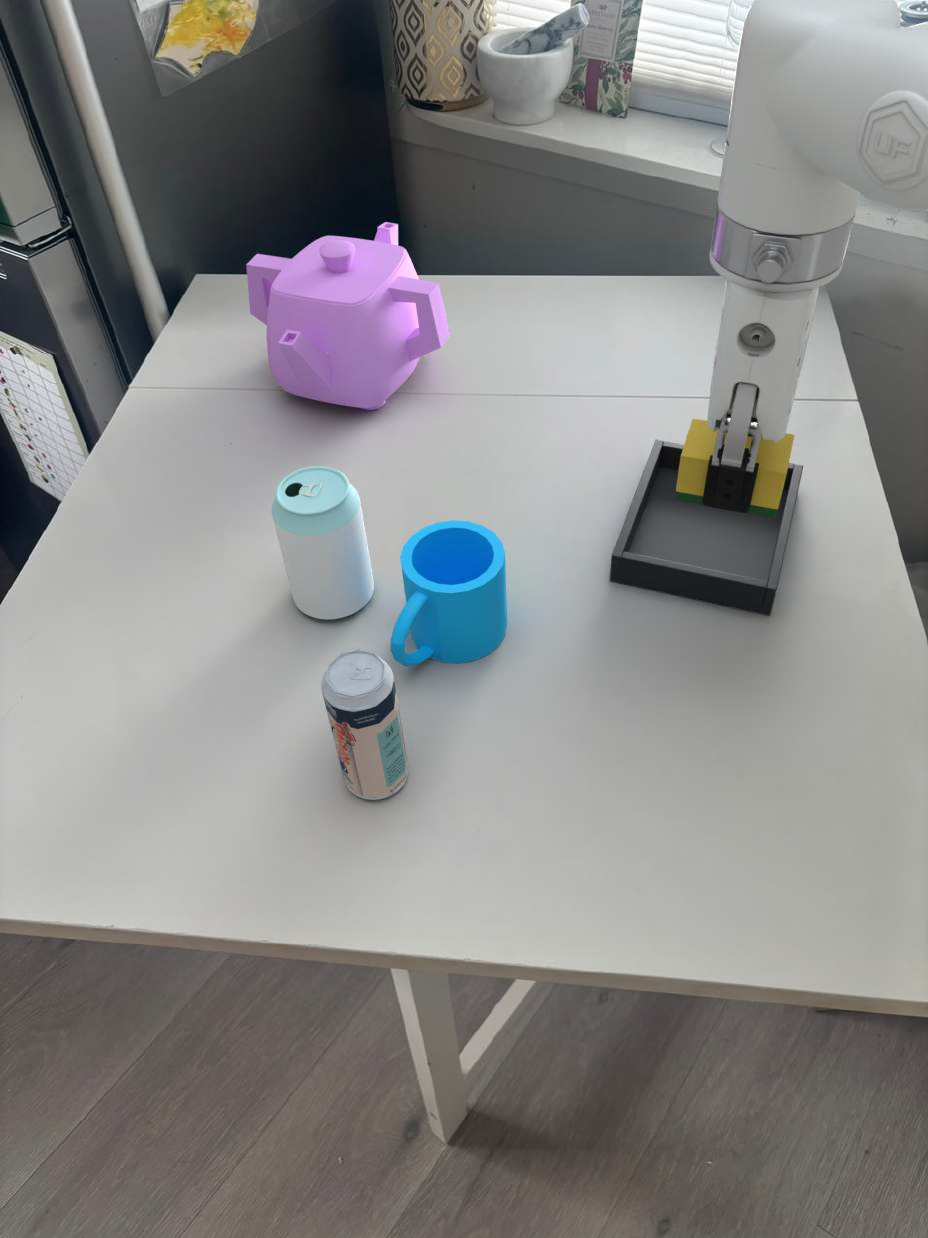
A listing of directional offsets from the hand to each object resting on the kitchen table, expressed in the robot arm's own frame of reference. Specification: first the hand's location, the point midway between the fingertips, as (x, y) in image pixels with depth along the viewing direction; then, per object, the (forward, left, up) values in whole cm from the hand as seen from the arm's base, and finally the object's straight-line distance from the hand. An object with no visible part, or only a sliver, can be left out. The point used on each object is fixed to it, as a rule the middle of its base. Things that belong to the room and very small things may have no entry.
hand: (731, 481), depth 70 cm
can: (+31, +6, -16) cm, 35 cm away
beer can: (+20, +22, -16) cm, 33 cm away
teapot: (+43, -25, -16) cm, 52 cm away
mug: (+20, +8, -16) cm, 26 cm away
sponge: (0, 0, -1) cm, 1 cm away
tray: (+2, -11, -16) cm, 19 cm away
